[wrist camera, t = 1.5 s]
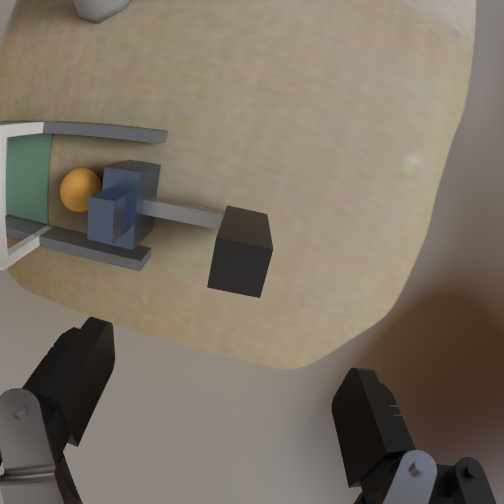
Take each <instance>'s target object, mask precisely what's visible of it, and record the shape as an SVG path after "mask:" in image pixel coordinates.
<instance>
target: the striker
mask: <svg viewBox="0 0 504 504" xmlns="http://www.w3.org/2000/svg"><path fill="white" fill-rule="evenodd" d="M160 167H161V165H159V164H152V163H146V162H140V161H133V160H128V161H124V162H121V163H117V164H114V165H110V166H107V167H104V176H103V187H102V191H100V192H98V193H96V194H94V195H91V196H89V202H88V227H87V239H89V240H93V241H98V242H100V243H104V244H109V245H113V246H118V247H122V248H126V249H131V250H133V249H134V248H135V247H136V246H137V245H138V244H139V243H140V242H141V241H142V240H143V239H144V237H145V236H146V235H147V234H148V233H149V232H150V231H151V230H152V226H153V217H159V218H164V219H169V220H174V221H179V222H184V223H189V224H194V225H199V226H203V227H208V228H213V229H218V230H219V231H218V234H217V237H216V242H215V247H214V253H213V258H212V264H211V269H210V275H209V280H208V286H207V287H208V288H213V289H217V290H222V291H227V292H232V293H237V294H242V295H247V296H253V297H258V298H260V296H261V292H262V289H263V285H264V281H265V278H266V274H267V270H268V267H269V263H270V259H271V256H272V252H273V245H272V239H271V233H270V228H269V222H268V216H267V214H264V213H260V212H255V211H251V210H246V209H241V208H237V207H232V206H227V208H226V211H221V210H216V209H211V208H206V207H201V206H196V205H191V204H186V203H181V202H176V201H171V200H165V199H160V198H156V194H157V186H158V180H159V173H160Z"/></svg>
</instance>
